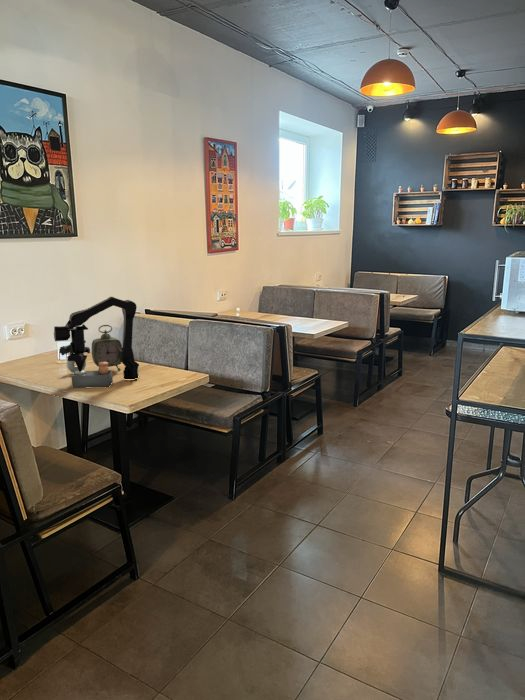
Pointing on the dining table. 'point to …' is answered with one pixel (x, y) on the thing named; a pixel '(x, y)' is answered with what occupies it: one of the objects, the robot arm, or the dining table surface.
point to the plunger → (80, 372)
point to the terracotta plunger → (103, 367)
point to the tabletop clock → (106, 349)
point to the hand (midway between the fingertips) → (80, 371)
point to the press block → (92, 379)
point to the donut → (72, 367)
